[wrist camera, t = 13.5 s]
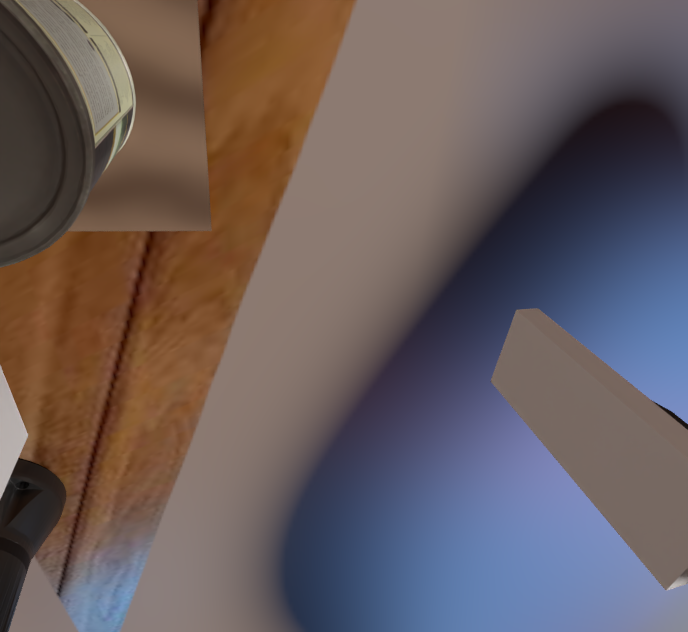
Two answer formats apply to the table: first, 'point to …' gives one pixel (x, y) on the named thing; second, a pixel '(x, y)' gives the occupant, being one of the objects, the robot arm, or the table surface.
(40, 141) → the coffee can
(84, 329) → the table surface
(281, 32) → the table surface
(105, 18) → the stool
